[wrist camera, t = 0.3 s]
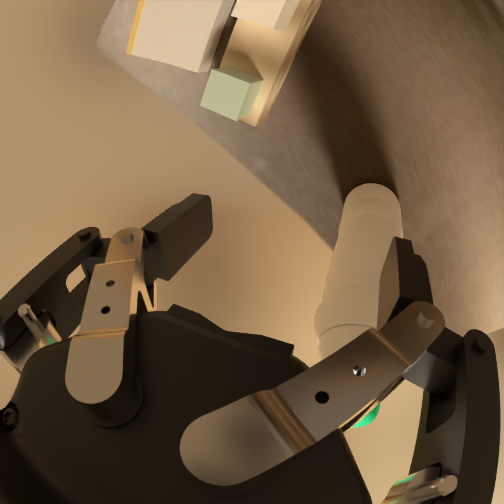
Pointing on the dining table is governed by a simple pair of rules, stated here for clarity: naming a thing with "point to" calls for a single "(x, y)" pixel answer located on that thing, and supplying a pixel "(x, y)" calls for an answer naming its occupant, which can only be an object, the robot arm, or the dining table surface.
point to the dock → (179, 31)
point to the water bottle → (357, 270)
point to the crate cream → (266, 12)
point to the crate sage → (231, 92)
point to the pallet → (267, 54)
